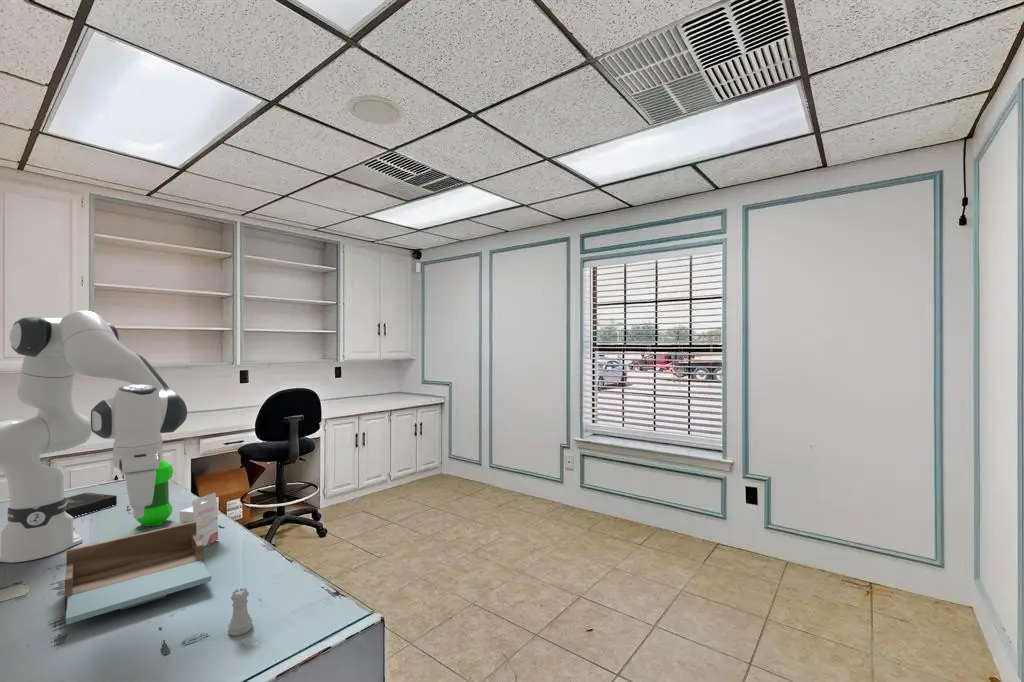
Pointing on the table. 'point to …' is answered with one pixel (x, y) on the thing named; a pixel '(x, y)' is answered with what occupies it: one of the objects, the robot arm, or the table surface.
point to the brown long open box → (130, 557)
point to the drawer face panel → (135, 591)
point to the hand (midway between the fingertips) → (138, 516)
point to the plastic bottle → (159, 498)
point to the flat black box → (88, 503)
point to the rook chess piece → (240, 614)
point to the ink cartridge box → (203, 518)
